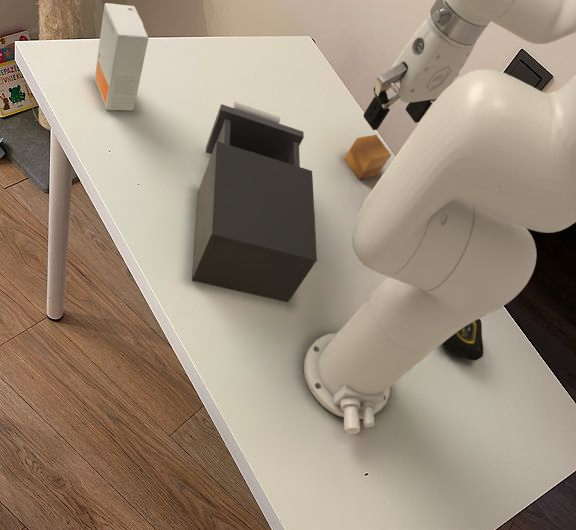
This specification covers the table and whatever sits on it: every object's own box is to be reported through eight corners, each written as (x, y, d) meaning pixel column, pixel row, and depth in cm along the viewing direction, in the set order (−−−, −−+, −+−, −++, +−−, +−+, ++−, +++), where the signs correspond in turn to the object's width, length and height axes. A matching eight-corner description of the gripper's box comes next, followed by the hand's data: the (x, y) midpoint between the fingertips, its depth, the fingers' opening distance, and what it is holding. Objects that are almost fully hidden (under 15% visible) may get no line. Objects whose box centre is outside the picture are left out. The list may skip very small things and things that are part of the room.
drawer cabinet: (197, 192, 85) (216, 140, 77) (285, 217, 89) (312, 170, 82) (191, 280, 77) (211, 233, 70) (287, 302, 82) (317, 260, 74)
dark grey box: (207, 124, 90) (222, 80, 84) (282, 148, 95) (302, 108, 88) (201, 221, 81) (217, 180, 75) (285, 243, 86) (307, 206, 79)
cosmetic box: (92, 80, 86) (103, 1, 77) (121, 81, 89) (135, 4, 79) (105, 111, 85) (118, 34, 75) (134, 112, 87) (150, 37, 77)
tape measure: (472, 367, 91) (488, 355, 88) (434, 353, 89) (449, 340, 86) (470, 331, 94) (486, 318, 91) (434, 316, 92) (448, 303, 89)
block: (377, 175, 103) (391, 155, 99) (358, 179, 100) (372, 159, 96) (362, 154, 104) (376, 134, 100) (344, 158, 101) (356, 137, 97)
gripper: (432, 42, 74) (365, 145, 89) (510, 36, 84) (439, 130, 98) (399, -1, 76) (338, 107, 90) (479, -2, 85) (413, 97, 99)
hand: (391, 119), depth 94 cm, fingers open, 9 cm apart
